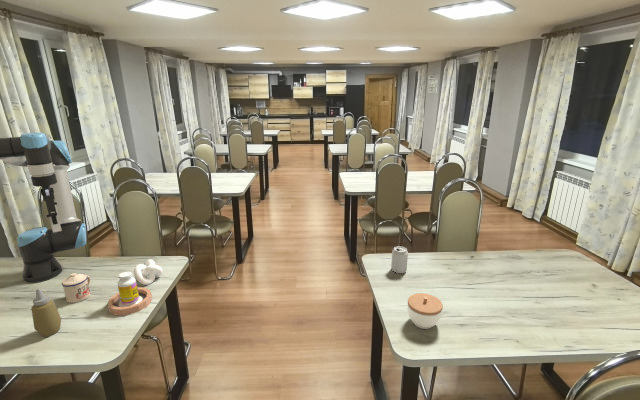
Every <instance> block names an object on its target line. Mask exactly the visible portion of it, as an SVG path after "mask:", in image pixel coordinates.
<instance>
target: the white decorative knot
mask: <svg viewBox="0 0 640 400" xmlns="http://www.w3.org/2000/svg"><path fill="white" fill-rule="evenodd" d="M163 274H164V271H163V268H162V267H161V266H159V265H157V264H156V262H155V261H154V260H153V259H151V258H150V259H147V260H145V261H144V263H143V264H142V263H139V264H137V265H135V267H134V269H133V275H134V278H135V279H136V281H138V282H139V283H140V284H142V285H144V286H147V285H151V284H153V282H154V281H155V278H156V279H157V278H160V277H161V276H163Z"/></svg>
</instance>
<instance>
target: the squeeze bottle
mask: <svg viewBox="0 0 640 400" xmlns="http://www.w3.org/2000/svg"><path fill="white" fill-rule="evenodd" d="M32 303H33V305H32V306H31V316H32V322H33V328H34V330H35V331H36V332H37V333H38V334H39V335H40V336H41V337H50V336H53V335H55V334H57V333H58V332H60V329H61V325H62V317H61V315H60V313H59V310H58V308H57V305H56V303H55V301H54V300H52V299H50V296H49V295H47V294H44V292H43V291H42V289H40V288H38V289H36V290H35V298H34V299H33V300H32Z"/></svg>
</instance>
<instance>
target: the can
mask: <svg viewBox="0 0 640 400" xmlns="http://www.w3.org/2000/svg"><path fill="white" fill-rule="evenodd" d="M408 256H409V252H408V249H407V247H404V246H400V245H397V246H394V247H393V249H392V252H391V265H390V266H391V267H390V270H391V271H392V272H393V271H394V272H393V273H395V272H396V273H395V274H398V273H402V274H405V273H406V272H407V271H408V270H407V269H408V268H407V267H408V259H409V257H408Z"/></svg>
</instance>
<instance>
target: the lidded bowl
mask: <svg viewBox="0 0 640 400" xmlns="http://www.w3.org/2000/svg"><path fill="white" fill-rule="evenodd" d="M442 312H443V302H442V301H441V300H440V299H439V298H437V297H436V296H434V295H432V294H428V293H414V294H412V295H410V296H409V297H408V299H407V313H408V317H409V319H410V321H411V323H413V324H414V325H415V326H416V327H417V328H419V329H422V330H423V329H424V330H428V329H429V330H430V329H431V328H432V327H434V326H436V325H437V324H438V323H439V321H440V319H441V316H442Z"/></svg>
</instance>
